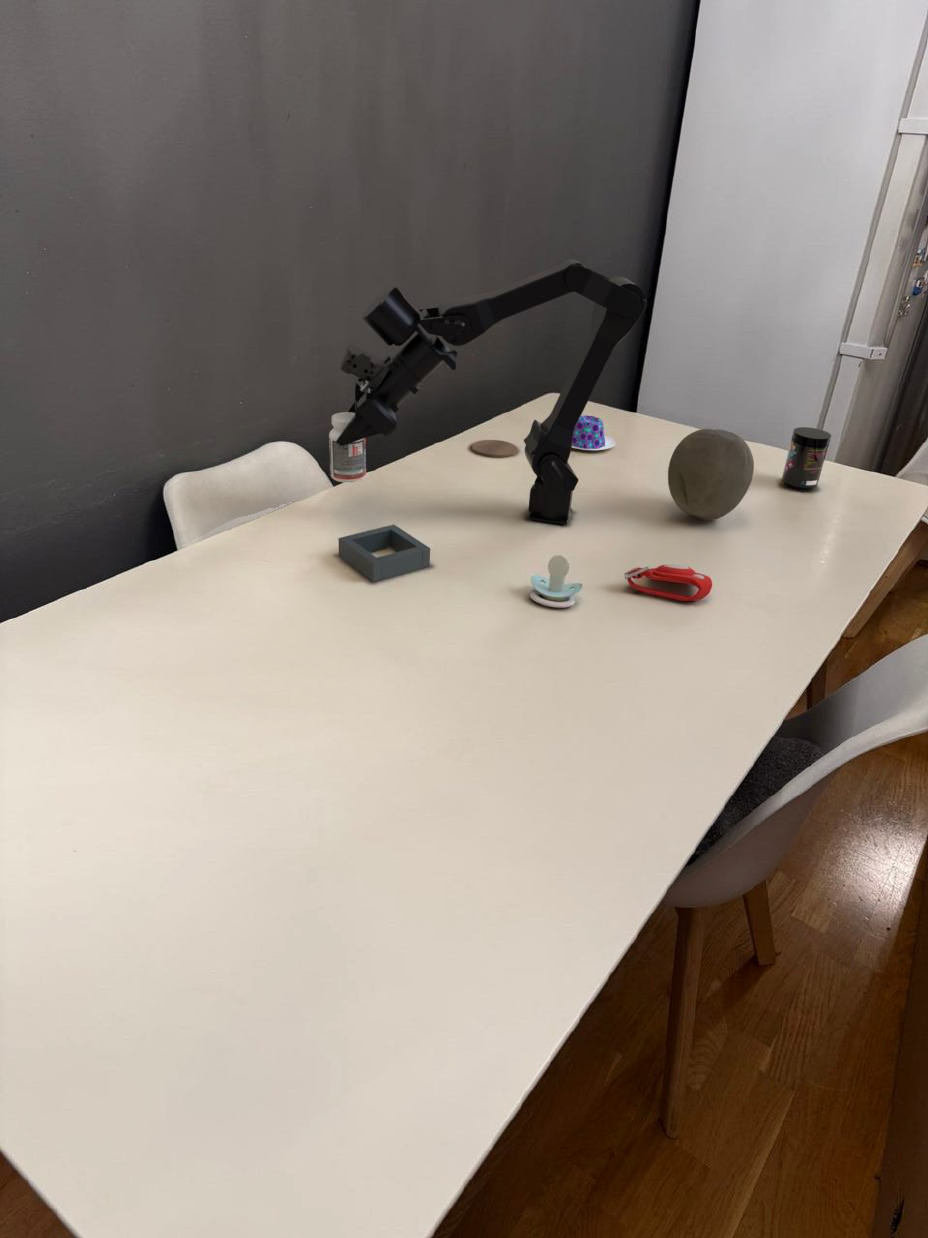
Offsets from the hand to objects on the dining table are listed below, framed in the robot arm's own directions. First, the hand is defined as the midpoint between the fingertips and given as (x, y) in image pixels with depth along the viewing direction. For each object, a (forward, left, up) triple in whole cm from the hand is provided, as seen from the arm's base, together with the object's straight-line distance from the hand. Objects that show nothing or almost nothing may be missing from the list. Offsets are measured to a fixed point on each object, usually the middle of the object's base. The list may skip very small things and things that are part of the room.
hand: (338, 437), depth 138 cm
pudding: (-34, -52, -13) cm, 64 cm away
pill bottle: (-1, 0, -7) cm, 7 cm away
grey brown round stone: (-58, -22, -13) cm, 64 cm away
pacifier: (-38, +17, -13) cm, 44 cm away
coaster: (-17, -41, -13) cm, 47 cm away
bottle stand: (-12, +14, -13) cm, 22 cm away
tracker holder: (-53, +8, -13) cm, 55 cm away
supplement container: (-76, -44, -13) cm, 89 cm away
